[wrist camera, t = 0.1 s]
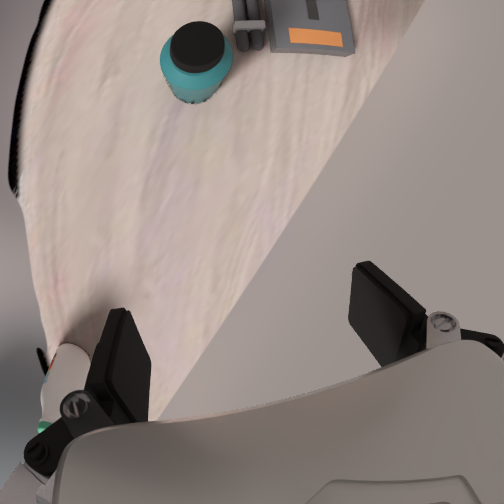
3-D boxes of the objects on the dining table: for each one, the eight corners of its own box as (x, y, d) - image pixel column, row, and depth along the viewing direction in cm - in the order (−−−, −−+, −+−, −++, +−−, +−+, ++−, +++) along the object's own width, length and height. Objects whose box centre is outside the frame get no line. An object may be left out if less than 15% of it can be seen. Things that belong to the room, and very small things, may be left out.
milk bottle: (67, 335, 44) (36, 417, 27) (97, 359, 48) (78, 442, 30) (52, 353, 45) (23, 428, 27) (80, 374, 49) (61, 451, 31)
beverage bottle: (205, 54, 32) (218, -8, 14) (227, 93, 35) (260, 59, 17) (162, 76, 32) (135, 29, 14) (184, 115, 35) (176, 99, 17)
